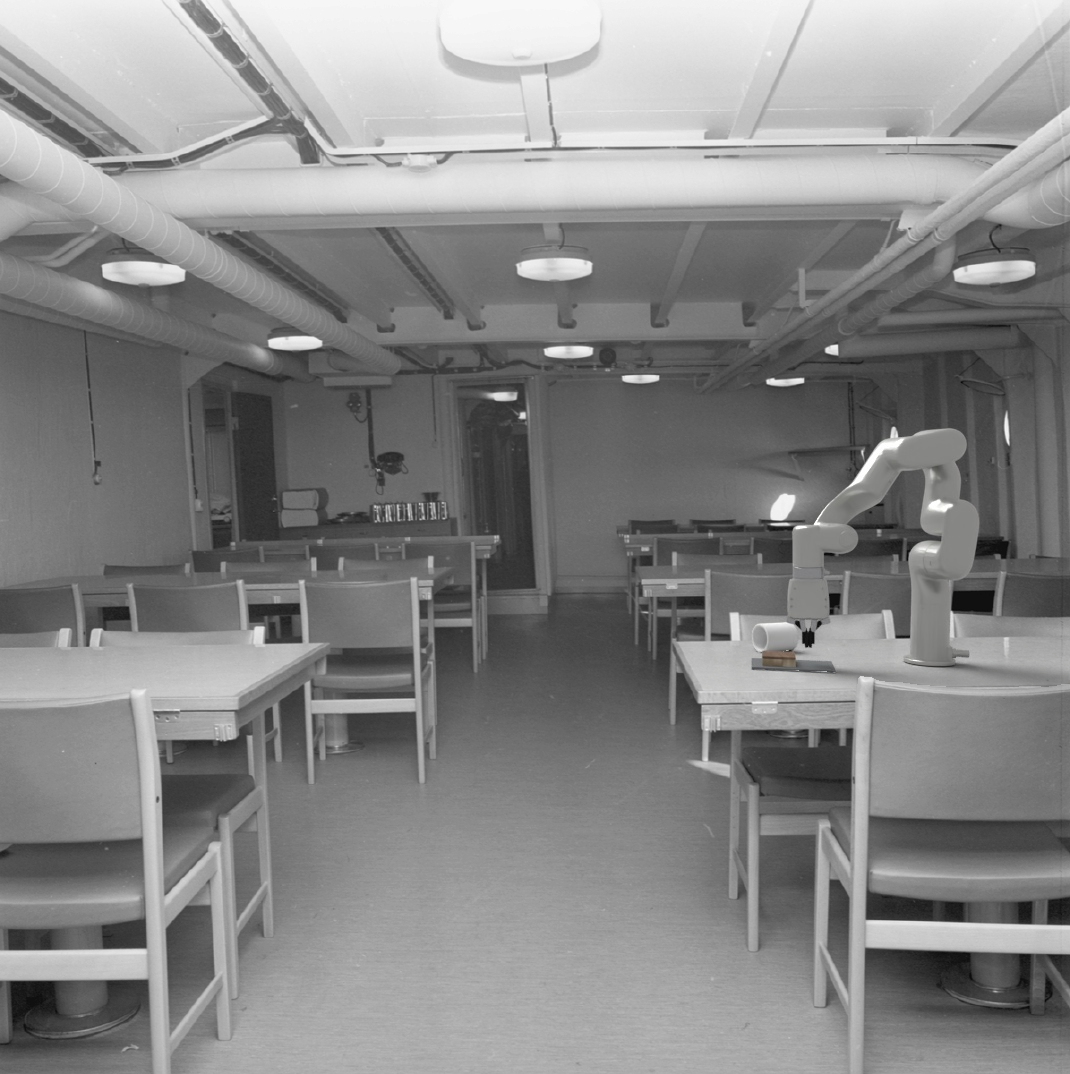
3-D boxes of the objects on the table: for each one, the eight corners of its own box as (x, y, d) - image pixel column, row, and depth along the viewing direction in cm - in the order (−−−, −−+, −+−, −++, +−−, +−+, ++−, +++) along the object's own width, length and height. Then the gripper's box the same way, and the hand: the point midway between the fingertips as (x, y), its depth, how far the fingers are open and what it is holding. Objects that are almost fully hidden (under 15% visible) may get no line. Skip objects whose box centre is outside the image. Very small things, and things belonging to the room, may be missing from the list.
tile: (794, 651, 255) (762, 650, 256) (795, 657, 246) (762, 656, 248) (794, 661, 255) (761, 659, 256) (795, 667, 246) (762, 665, 248)
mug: (798, 652, 272) (799, 623, 272) (768, 655, 269) (768, 625, 268) (771, 646, 284) (772, 618, 283) (742, 648, 280) (742, 620, 279)
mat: (831, 663, 255) (831, 661, 255) (835, 673, 242) (836, 670, 242) (751, 660, 260) (751, 657, 259) (751, 669, 246) (751, 666, 246)
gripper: (837, 572, 251) (837, 645, 252) (777, 572, 254) (777, 644, 255) (840, 575, 244) (840, 649, 245) (777, 575, 247) (778, 648, 248)
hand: (808, 646), depth 250 cm, fingers closed
